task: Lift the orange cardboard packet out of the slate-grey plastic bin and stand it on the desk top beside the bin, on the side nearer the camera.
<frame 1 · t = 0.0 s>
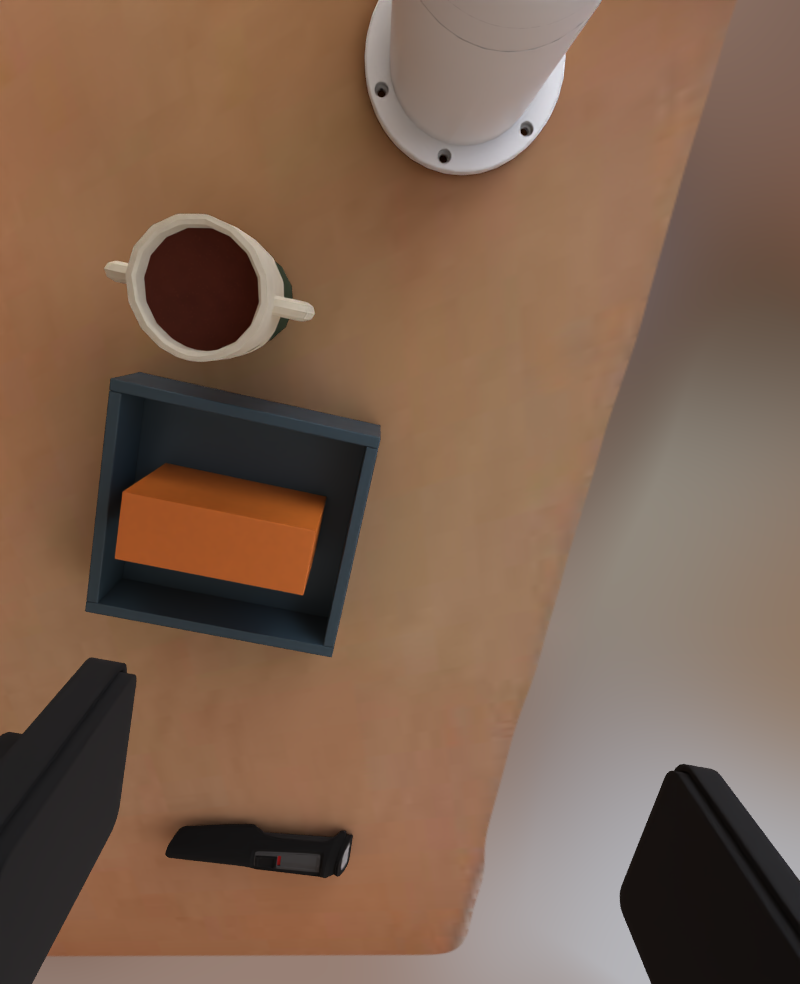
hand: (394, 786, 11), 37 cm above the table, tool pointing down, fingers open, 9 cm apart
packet: (242, 508, 47), resting on bin
electric trimmer: (268, 836, 56), on the table
bin: (243, 506, 47), on the table
character mug: (250, 298, 44), on the table
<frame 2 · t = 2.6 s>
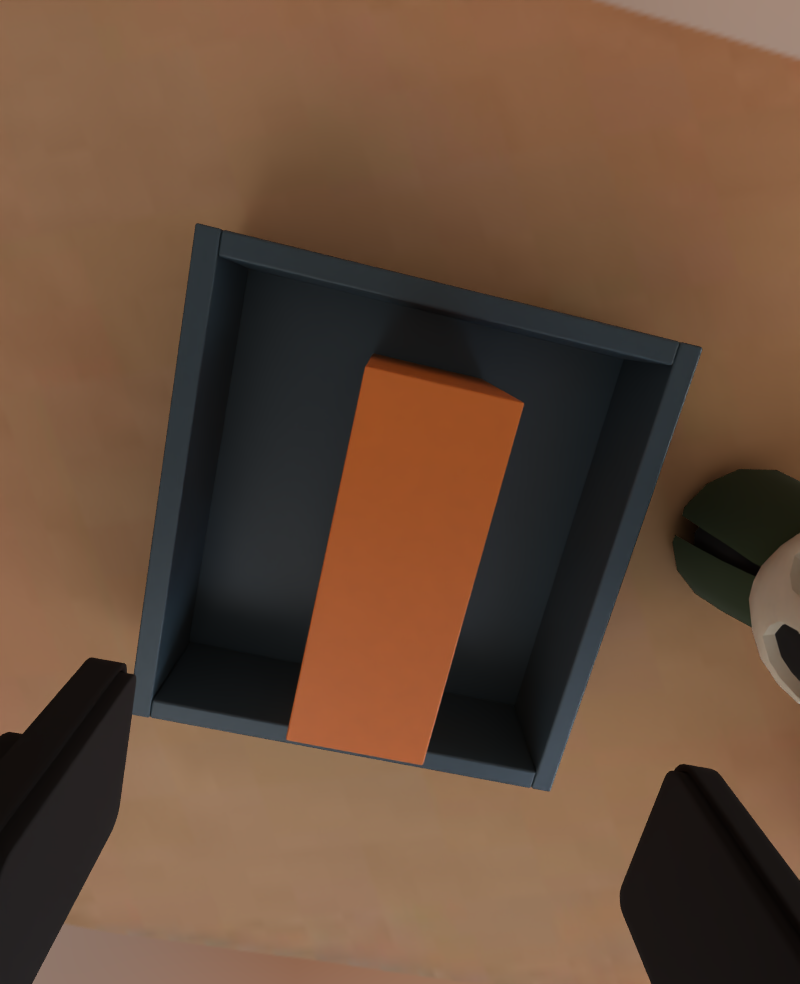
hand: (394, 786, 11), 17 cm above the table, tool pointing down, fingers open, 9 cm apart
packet: (394, 507, 26), resting on bin
bin: (394, 504, 27), on the table
character mug: (736, 532, 27), on the table
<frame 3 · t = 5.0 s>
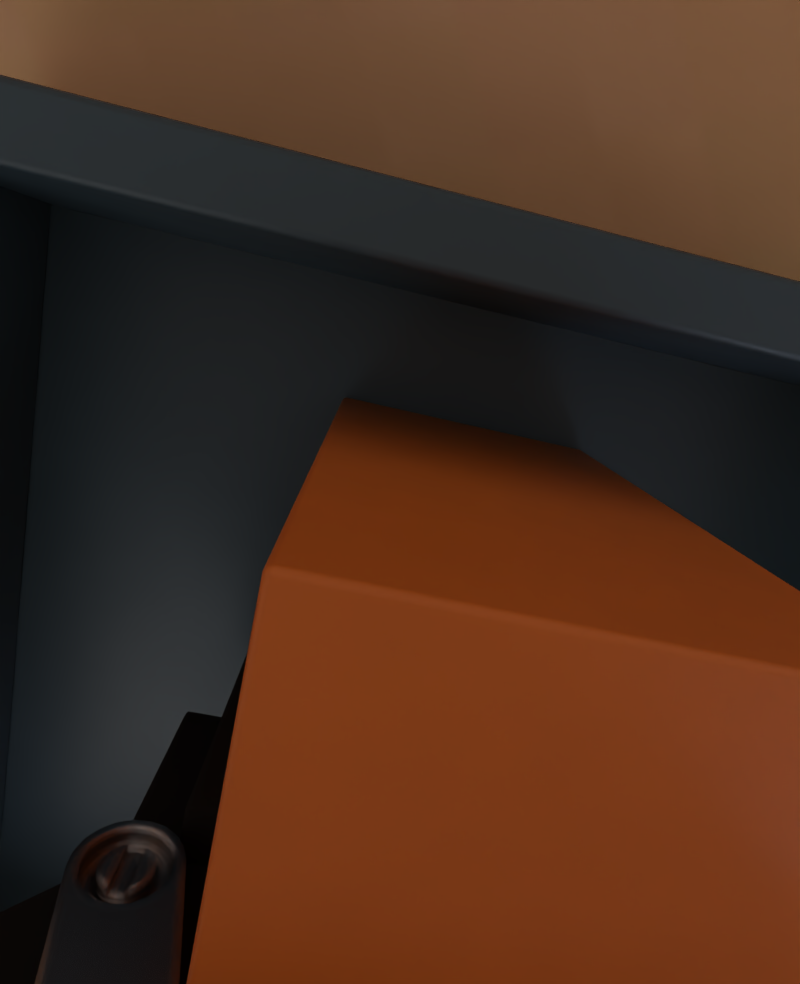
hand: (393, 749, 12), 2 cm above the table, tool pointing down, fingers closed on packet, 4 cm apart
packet: (392, 705, 13), point 1 cm above the table, touching bin, gripper
bin: (391, 691, 13), on the table
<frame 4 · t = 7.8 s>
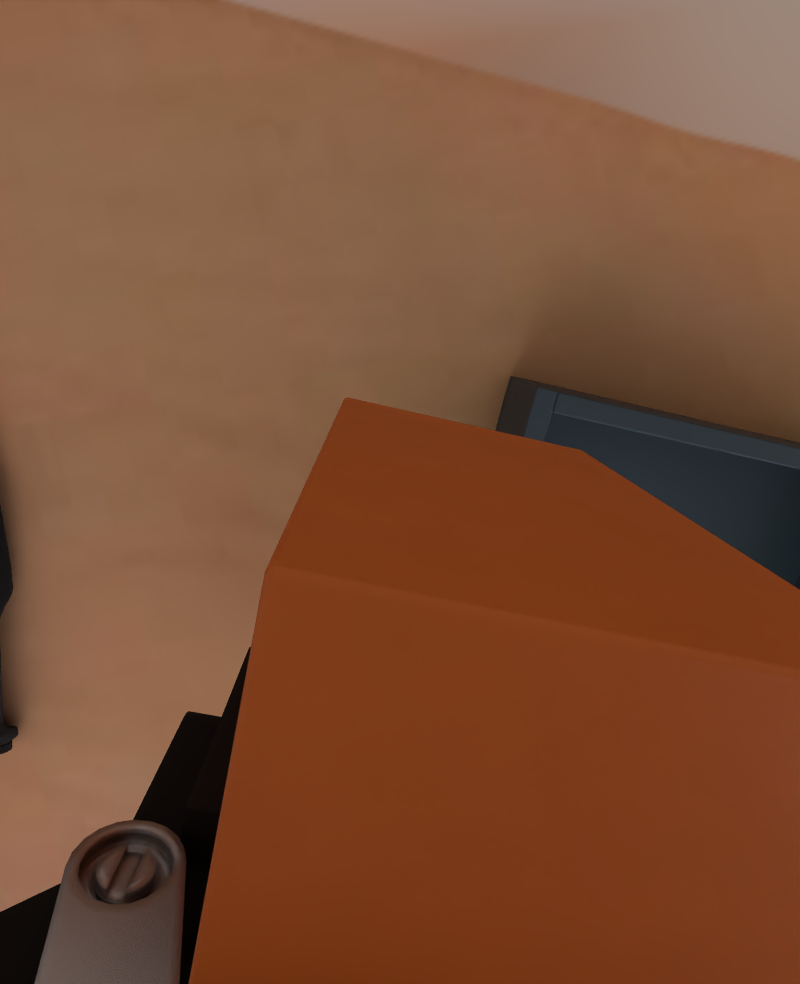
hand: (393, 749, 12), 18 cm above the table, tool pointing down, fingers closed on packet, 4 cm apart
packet: (393, 706, 13), point 16 cm above the table, touching gripper
bin: (626, 594, 30), on the table
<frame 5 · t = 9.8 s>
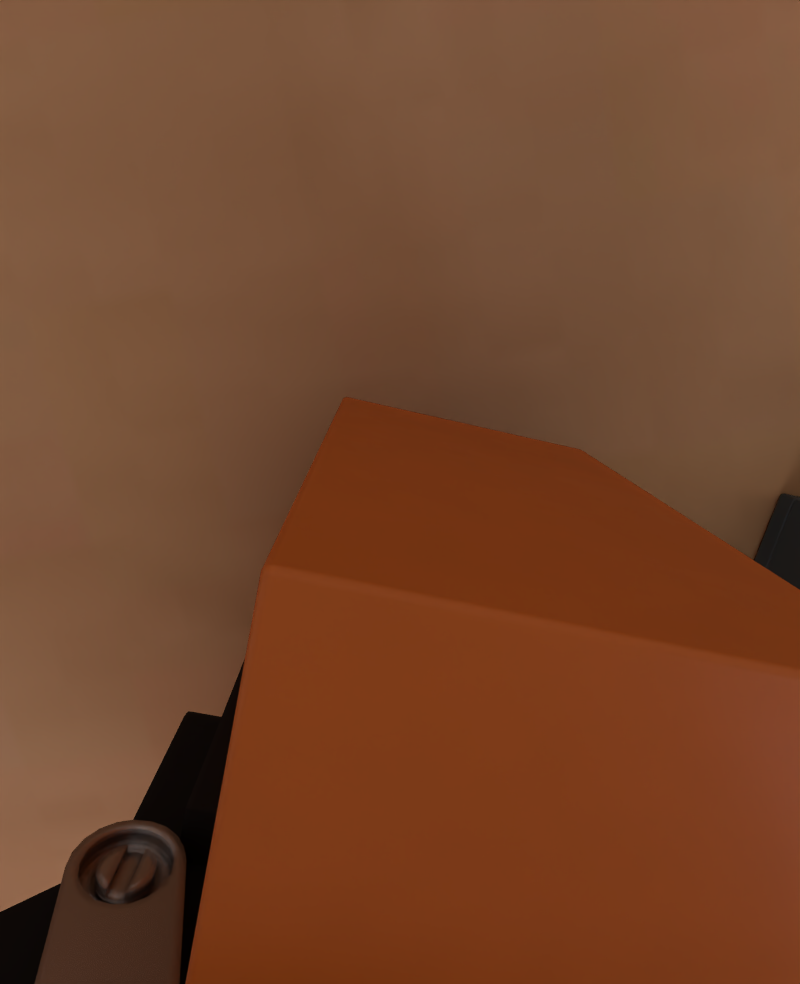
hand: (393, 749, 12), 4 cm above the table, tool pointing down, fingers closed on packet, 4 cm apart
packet: (392, 706, 13), point 2 cm above the table, touching gripper
when the fingers open (1 cm above the table, at t = 10.9 s): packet stays where it is, on the table.
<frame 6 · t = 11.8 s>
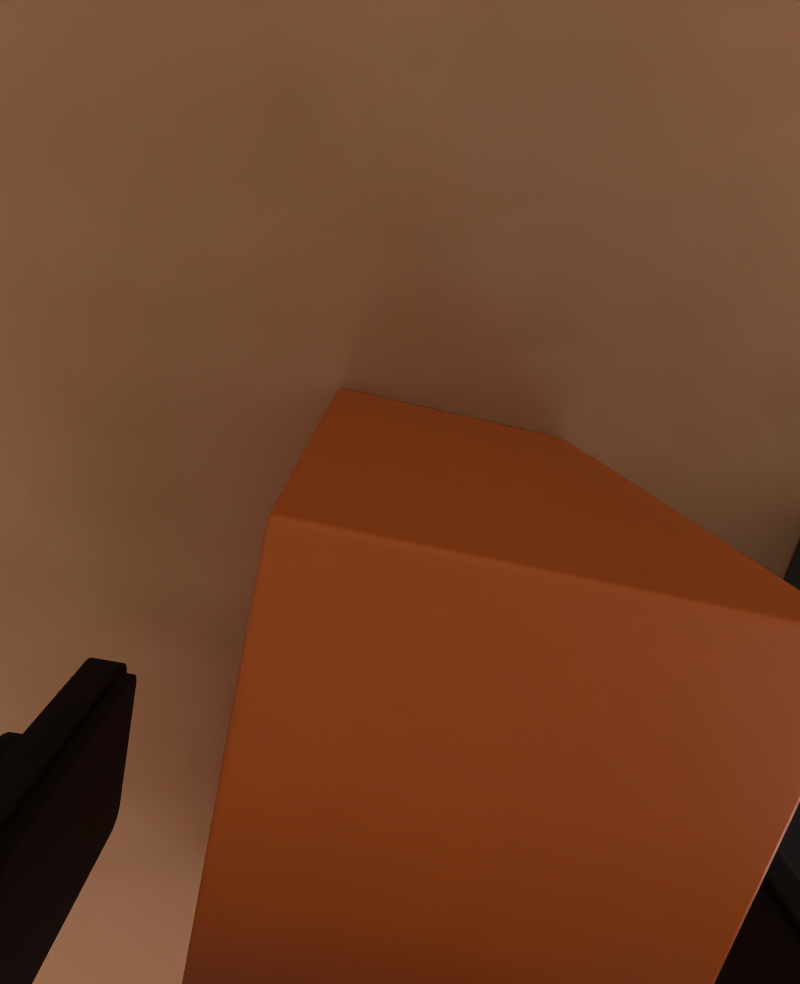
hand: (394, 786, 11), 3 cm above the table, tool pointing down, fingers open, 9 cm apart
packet: (385, 682, 14), on the table
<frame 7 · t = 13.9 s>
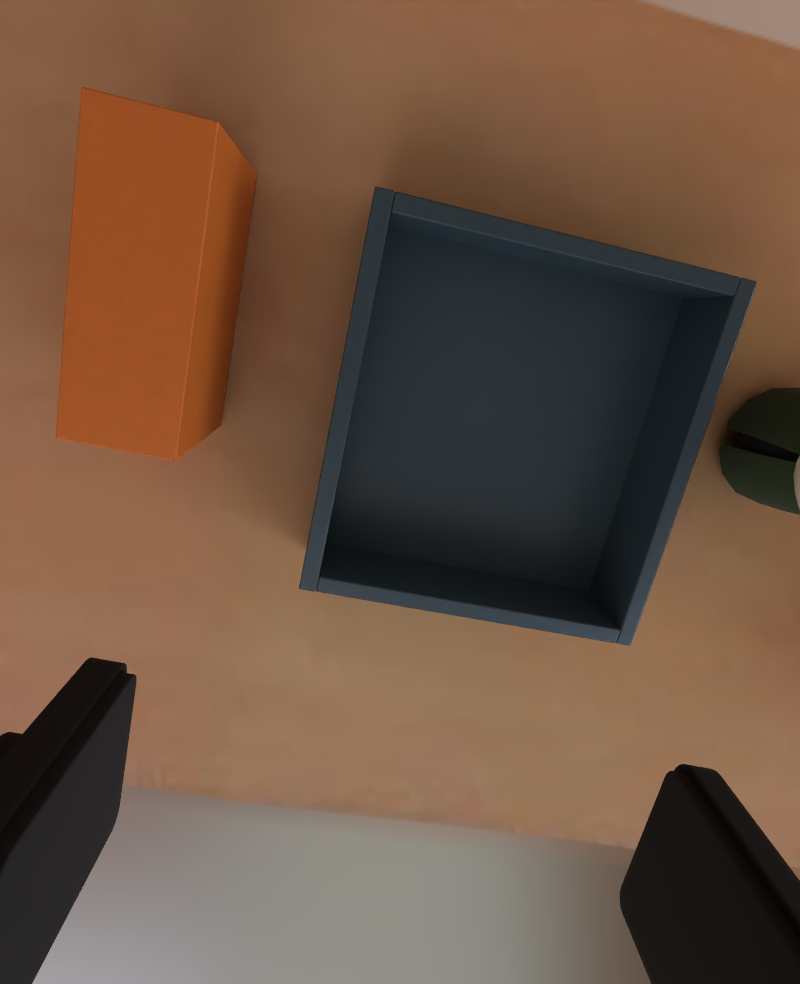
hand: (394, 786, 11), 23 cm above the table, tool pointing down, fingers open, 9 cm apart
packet: (191, 295, 30), on the table
bin: (494, 423, 33), on the table
character mug: (767, 442, 34), on the table
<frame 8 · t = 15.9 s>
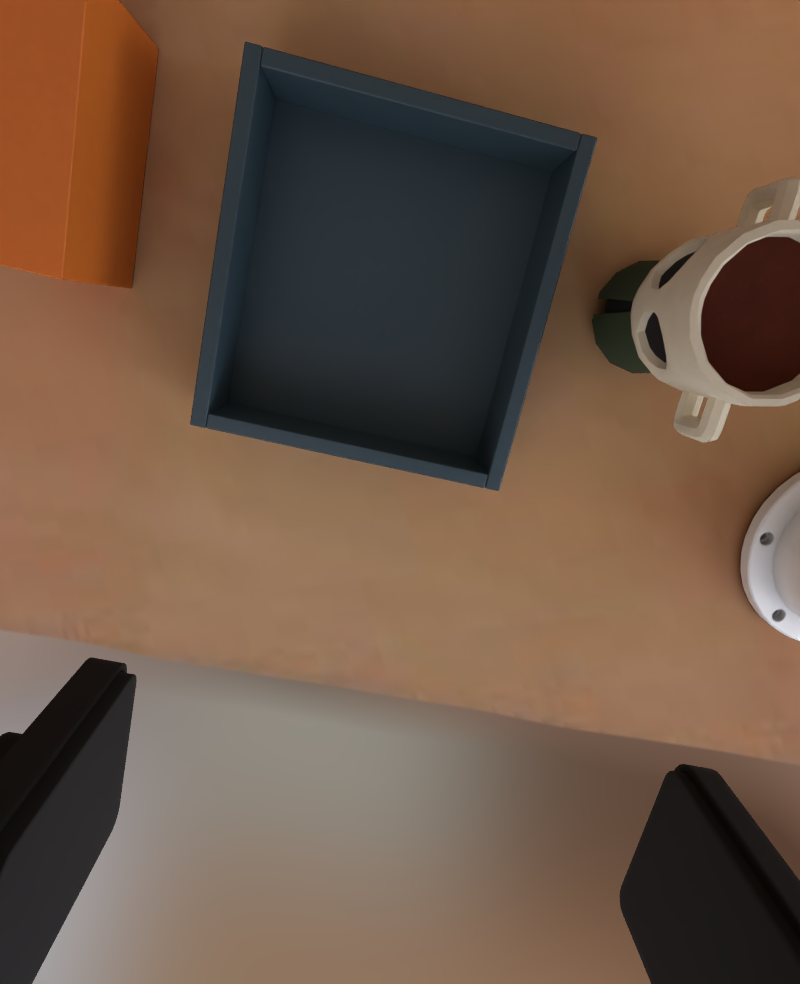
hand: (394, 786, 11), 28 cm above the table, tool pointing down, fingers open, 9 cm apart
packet: (102, 163, 33), on the table
bin: (383, 292, 35), on the table
character mug: (641, 318, 36), on the table
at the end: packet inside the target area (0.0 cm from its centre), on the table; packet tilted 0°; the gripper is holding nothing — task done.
